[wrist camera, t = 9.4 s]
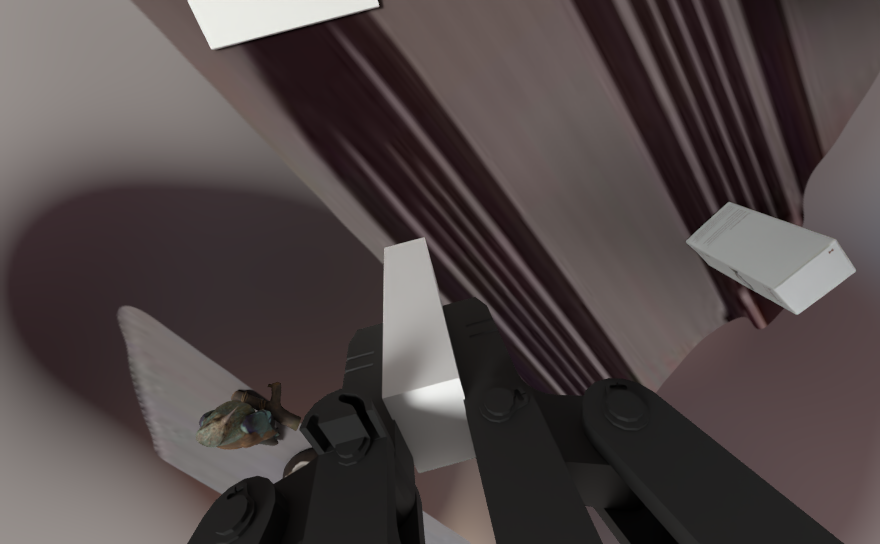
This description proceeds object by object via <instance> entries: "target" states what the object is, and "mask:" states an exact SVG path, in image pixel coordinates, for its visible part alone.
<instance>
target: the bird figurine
mask: <svg viewBox="0 0 880 544" xmlns="http://www.w3.org/2000/svg"><path fill="white" fill-rule="evenodd" d="M268 387H271V388H272V397H271V400H270V401H266V400H262V399H259V398H257V397H254V396H251V395H249V394H247V391H246V393H245V392H241V391H236V392H235V393H234V394H233V395H232V397H231V399H232V401H228V402H226V403H224V404H222V405H220V406H219V407H217V408H216V409H215V410H212V411H209V412H207V413H205V414H204V415H203V416H202V417H201V419H200V421H199V425H200V429H199V430H198V431H197V433H196V440H197V441H198V442H199V443H200V444H202V445H204V446H207V447H213V448H215V447H218V448H221V449H238V448H242V447H244V448H248V447H251V446H254V445H257V444H264V445H271V446H275V445H277V444H278V441H277V438H276V436H279V434H278V428H275V420H276V421H277V422H279V423H280V424H281V425H285V426H288V427H290V428H291V429H293V430H295V431H296V430H297V429H298V426H299V424H300V420H301V417H299V416H296V415H294V414H292V413H290V412H288V411H287V410H285V409H284V408H283V407H282V406H281V404H280V396H281V383H279V382H276V383H273V384H272V385H271V384H269V385H268ZM254 409H256V410H258V411H257V412H255V410H254Z"/></svg>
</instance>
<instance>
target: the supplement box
mask: <svg viewBox="0 0 880 544" xmlns="http://www.w3.org/2000/svg"><path fill="white" fill-rule="evenodd" d="M686 243H687V244H688V245H689V246H690V247H692V248H693V249H694V250H695V251H696V252H697V253H698V254H699V255H700V256H701V257H702V258H703V259H704V260H705V261H706V262H707V264H708V265H710V266H711V267H713V268H715V269H717V270H718V271H720V272H722V273H724V274H725V275H727V276H729V277H730V278H732V279H734V280H736V281H737V282H739V283H741V284H743V285H744V286H746V287H748V288H750V289H752V290H753V291H755V292H757V293H759V294H760V295H762V296H764V297H766V298H768V299H770V300H771V301H773V302H775V303H777V304H778V305H780V306H782V307H784V308H785V309H787V310H789V311H791V312H793V313H794V314H796V315H798V314H799V313H801V312H802V311H804V310H805V309H806V308H808V307H809V306H810V305H812V304H813V303H814V302H815V301H817V300H819V299H820V298H821V297H823V296H824V295H825V294H827V293H828V292H829V291H831V290H832V289H833V288H835V287H836V286H837V285H839V284H840V283H841V282H842V281H844V280H845V279H846V278H848V277H849V276H850V275H852V274H853V273H854V272H856V269H855V268H854V266H853V265H852V263H851V262H850V260H849V259H848V257H847V255H846V254H845V252H844V251H843V250H842V248H841V246H840V245H839V243H838V241H837V240H836V239H834V238H831V237H828V236H825V235H822V234H820V233H817V232H814V231H811V230H808V229H805V228H803V227H800V226H797V225H794V224H791V223H788V222H785V221H783V220H780V219H777V218H774V217H771V216H768V215H765V214H763V213H760V212H757V211H754V210H751V209H748V208H746V207H743V206H740V205H737V204H734V203H731V202H728V203H727V204H726V205H724V206H723V207H722V208H721V209H720V210H719V211H718V212H717V213H716V214H715V215H713V216H712V217H711V218H710V219H709V220H708V221H707V222H706V223H705V224H703V225H702V226H701V227H700V228H699V229H698V230H697V231H696V232H695V233H694V234H693V235H691V236H690V237H689V238H688V239H687V240H686Z"/></svg>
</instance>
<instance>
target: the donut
mask: <svg viewBox="0 0 880 544" xmlns="http://www.w3.org/2000/svg"><path fill="white" fill-rule="evenodd" d="M316 456H318V454H317V452H316V451H315V450H314V449H309V450H306V451H303V452H300V453H299V454H297V455H296V456H294V457H293V458H292V459H291V460H290V461H289V462H288V464H287V465H286V466H285V469H284V472H283V478H285V477H286V476H288V475H290V474H291V473H293V472H295V471H296V470H298V469H300V468H301V467H303V466H305V465H306V464H307V463H309V462H310V461H312V460H313V459H314V458H315V457H316Z"/></svg>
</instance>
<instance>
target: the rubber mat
mask: <svg viewBox="0 0 880 544" xmlns="http://www.w3.org/2000/svg"><path fill="white" fill-rule="evenodd" d="M188 3H189V5H190V7H191V9H192V11H193V13H194V15H195V17H196V19H197V21H198V23H199V25H200V27H201V29H202V31H203V33H204V35H205V37H206V39H207V41H208V43H209V45H210V48H211V49H212V50H217V49H221V48H224V47H228V46H232V45H236V44H240V43H244V42H247V41H251V40H255V39H259V38H263V37H267V36H271V35H274V34H278V33H282V32H286V31H290V30H294V29H297V28H301V27H305V26H309V25H313V24H317V23H321V22H324V21H328V20H332V19H336V18H340V17H344V16H347V15H351V14H355V13H359V12H363V11H367V10H371V9H374V8H378V7H379V3H378V0H188Z"/></svg>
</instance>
